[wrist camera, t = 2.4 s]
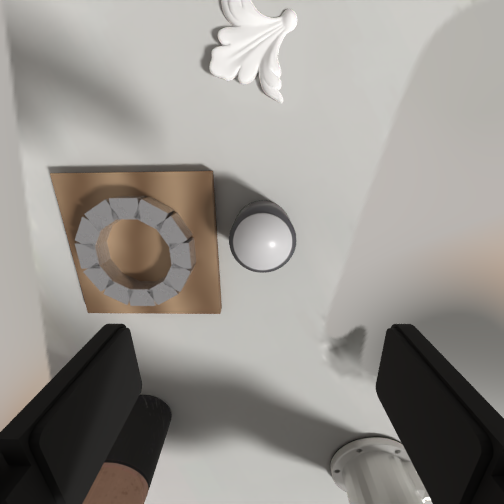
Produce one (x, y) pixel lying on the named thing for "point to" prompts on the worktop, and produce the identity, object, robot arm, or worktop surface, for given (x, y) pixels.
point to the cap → (262, 237)
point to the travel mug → (133, 455)
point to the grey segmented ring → (105, 270)
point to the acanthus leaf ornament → (251, 46)
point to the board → (147, 235)
